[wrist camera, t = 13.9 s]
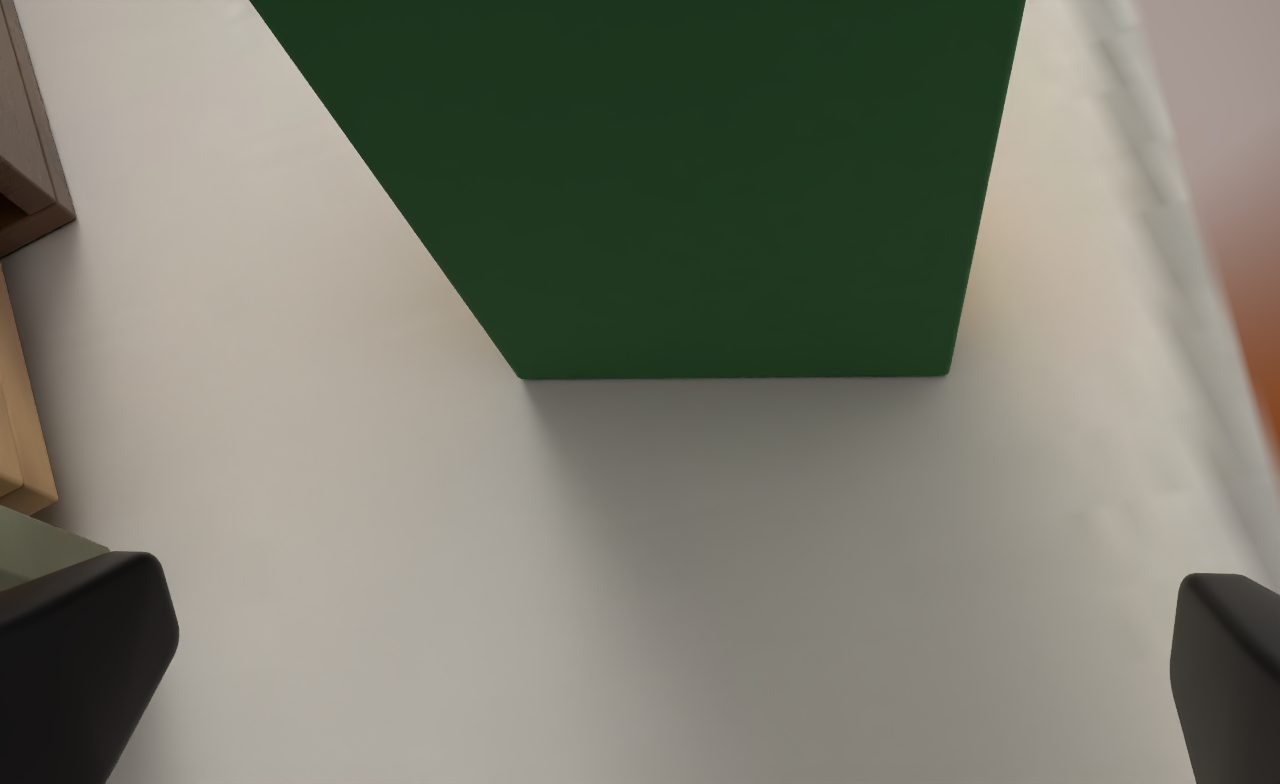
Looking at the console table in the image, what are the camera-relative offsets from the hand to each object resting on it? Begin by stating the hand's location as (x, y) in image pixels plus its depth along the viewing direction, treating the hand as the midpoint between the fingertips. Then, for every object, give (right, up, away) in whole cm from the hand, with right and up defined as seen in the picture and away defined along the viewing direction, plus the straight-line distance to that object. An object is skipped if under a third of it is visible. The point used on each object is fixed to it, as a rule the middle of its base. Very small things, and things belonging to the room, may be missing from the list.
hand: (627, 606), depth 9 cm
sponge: (+2, +4, +9) cm, 10 cm away
